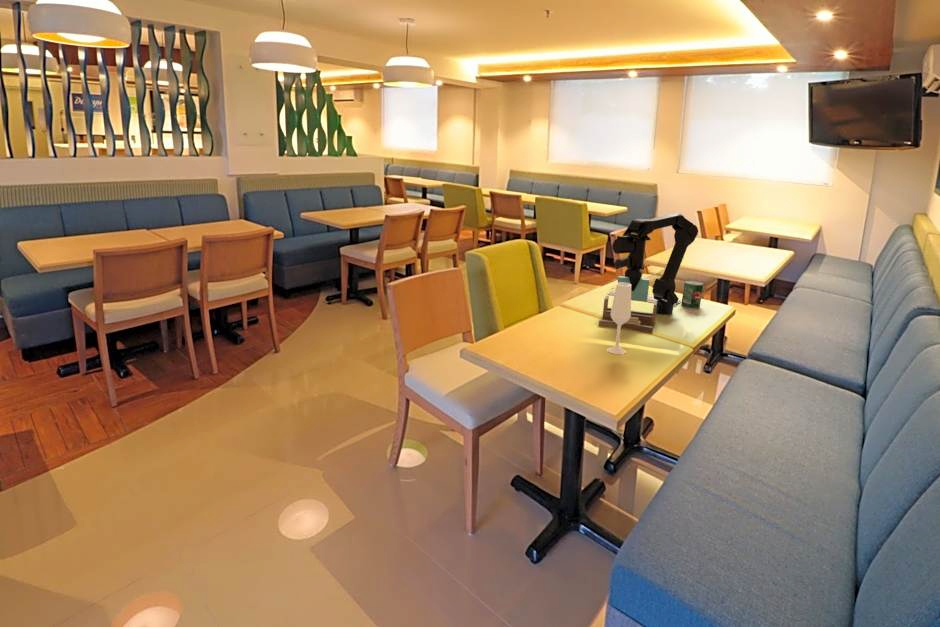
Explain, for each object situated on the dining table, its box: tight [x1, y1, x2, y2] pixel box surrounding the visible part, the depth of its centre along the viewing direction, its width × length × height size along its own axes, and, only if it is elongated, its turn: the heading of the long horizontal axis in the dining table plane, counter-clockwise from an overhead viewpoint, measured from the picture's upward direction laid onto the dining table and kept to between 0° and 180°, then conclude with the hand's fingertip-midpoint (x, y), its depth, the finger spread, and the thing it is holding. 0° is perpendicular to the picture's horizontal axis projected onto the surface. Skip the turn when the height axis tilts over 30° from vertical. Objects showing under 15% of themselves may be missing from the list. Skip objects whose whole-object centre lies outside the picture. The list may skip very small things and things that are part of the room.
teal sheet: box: [617, 275, 651, 303], centre depth 217 cm, size 2×12×9 cm, turn 70°
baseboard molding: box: [606, 287, 682, 308], centre depth 252 cm, size 31×3×12 cm
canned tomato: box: [680, 280, 705, 310], centre depth 240 cm, size 8×8×11 cm
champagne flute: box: [607, 282, 632, 355], centre depth 184 cm, size 7×7×24 cm
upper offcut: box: [626, 317, 639, 325], centre depth 210 cm, size 5×8×1 cm, turn 76°
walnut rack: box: [598, 295, 657, 334], centre depth 213 cm, size 18×20×9 cm
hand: (632, 290), depth 217 cm, fingers closed on teal sheet, 2 cm apart
